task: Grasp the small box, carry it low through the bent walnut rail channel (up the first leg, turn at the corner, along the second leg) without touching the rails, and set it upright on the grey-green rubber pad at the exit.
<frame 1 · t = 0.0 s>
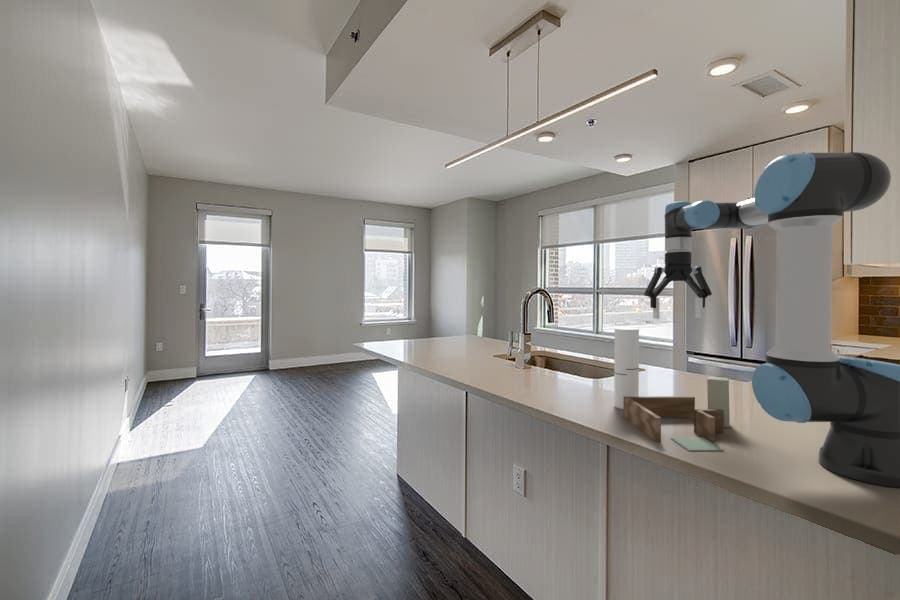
hand: (677, 318, 136), 28 cm above the table, fingers open, 13 cm apart
box: (718, 425, 117), on the table
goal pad: (696, 444, 102), on the table
rail: (676, 428, 114), on the table
cylindrical container: (626, 407, 135), on the table
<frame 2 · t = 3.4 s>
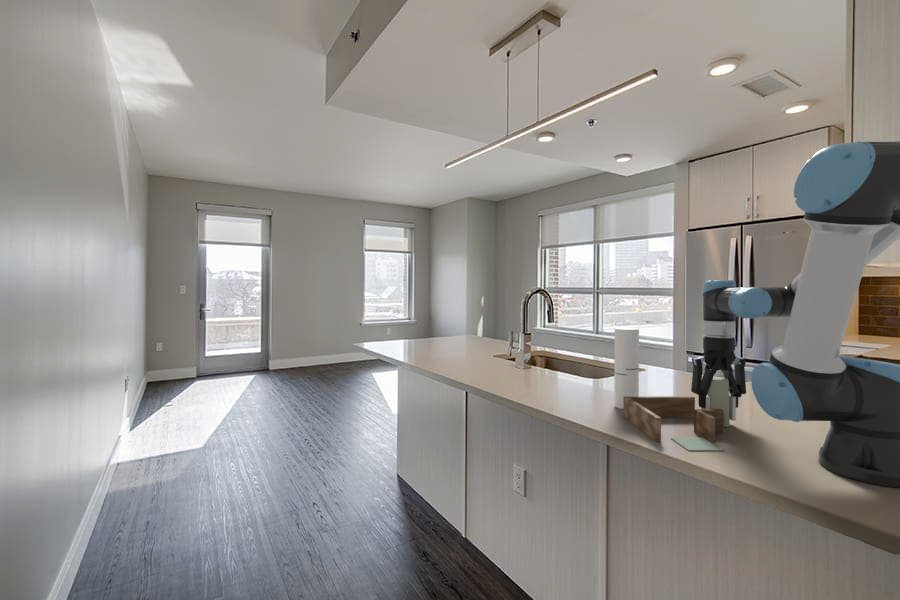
hand: (718, 419, 117), 1 cm above the table, fingers closed on box, 6 cm apart
box: (717, 425, 117), on the table, touching gripper
everything else where it was.
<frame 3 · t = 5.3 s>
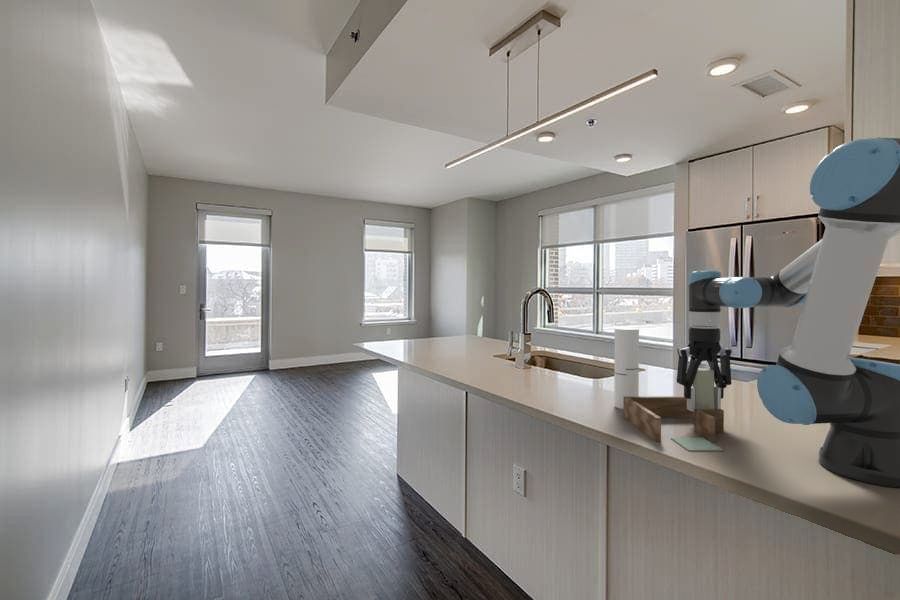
hand: (703, 409, 117), 4 cm above the table, fingers closed on box, 6 cm apart
box: (703, 416, 117), point 2 cm above the table, touching gripper
everything else where it was.
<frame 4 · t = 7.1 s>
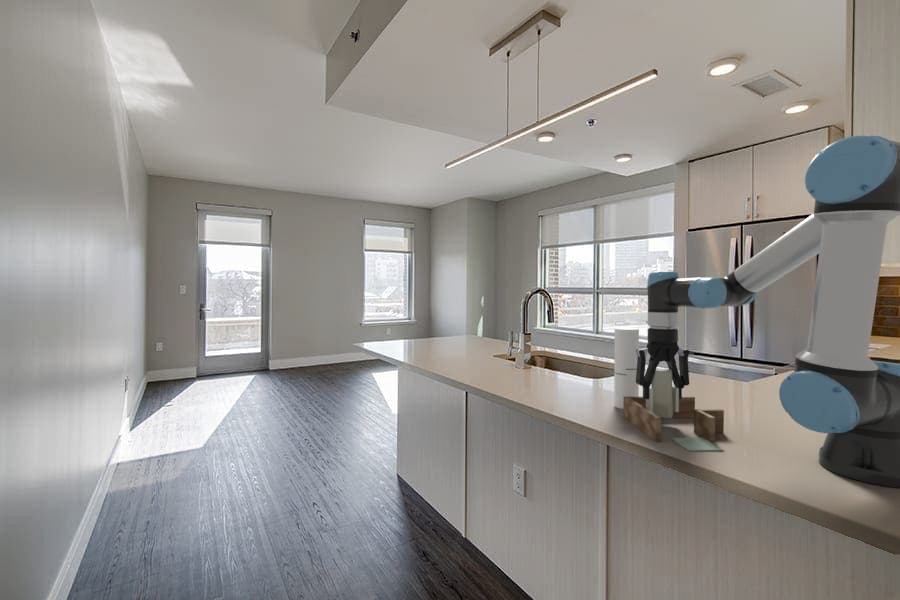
hand: (662, 410, 117), 4 cm above the table, fingers closed on box, 6 cm apart
box: (661, 416, 117), point 2 cm above the table, touching gripper
everything else where it was.
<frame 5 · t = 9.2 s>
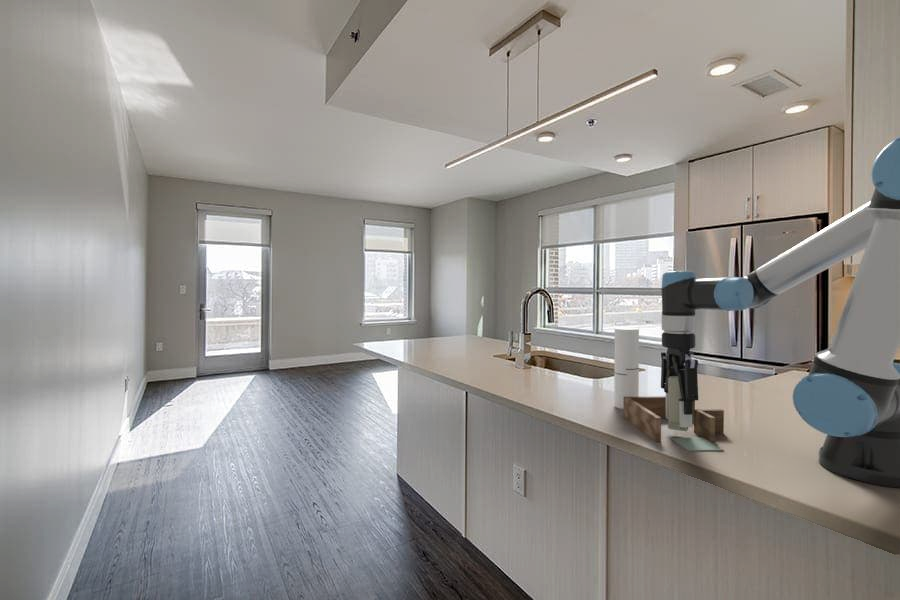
hand: (678, 422, 108), 4 cm above the table, fingers closed on box, 6 cm apart
box: (678, 428, 108), point 2 cm above the table, touching gripper
everything else where it was.
when the fingers open (3 cm above the table, at t = 11.2 s): box stays where it is, resting on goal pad.
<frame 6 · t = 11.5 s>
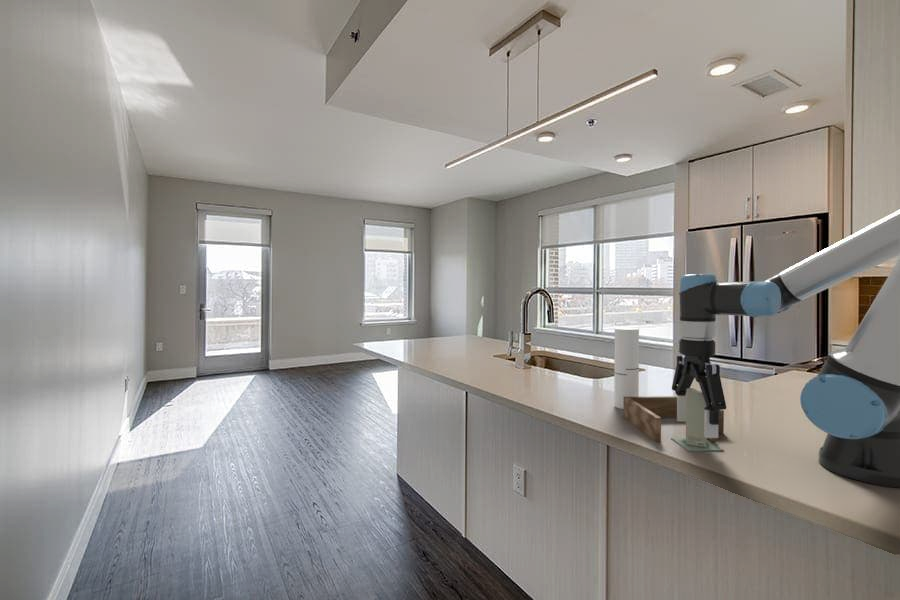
hand: (696, 428, 102), 4 cm above the table, fingers open, 11 cm apart
box: (696, 444, 103), resting on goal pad
everything else where it was.
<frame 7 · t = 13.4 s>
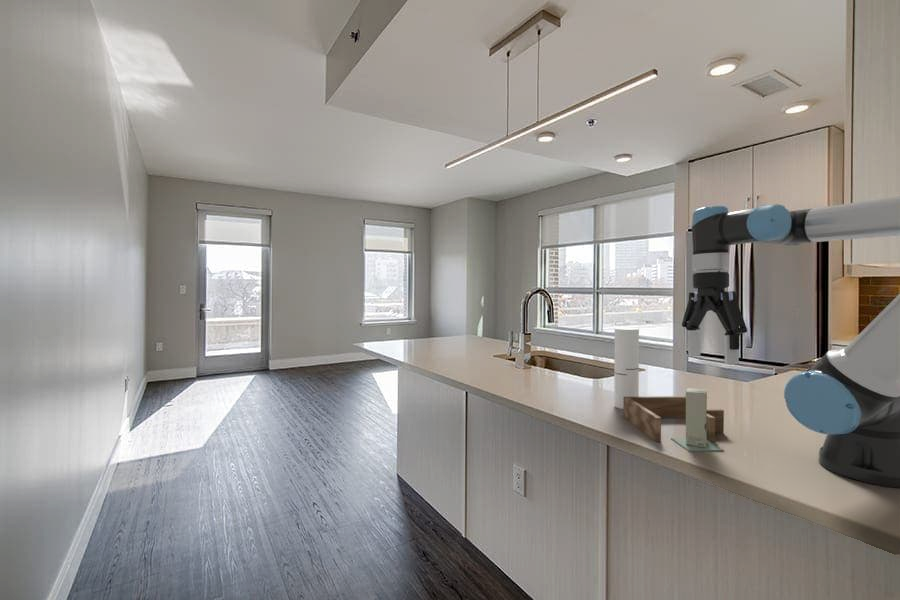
hand: (711, 359, 103), 20 cm above the table, fingers open, 13 cm apart
nothing on the table moved.
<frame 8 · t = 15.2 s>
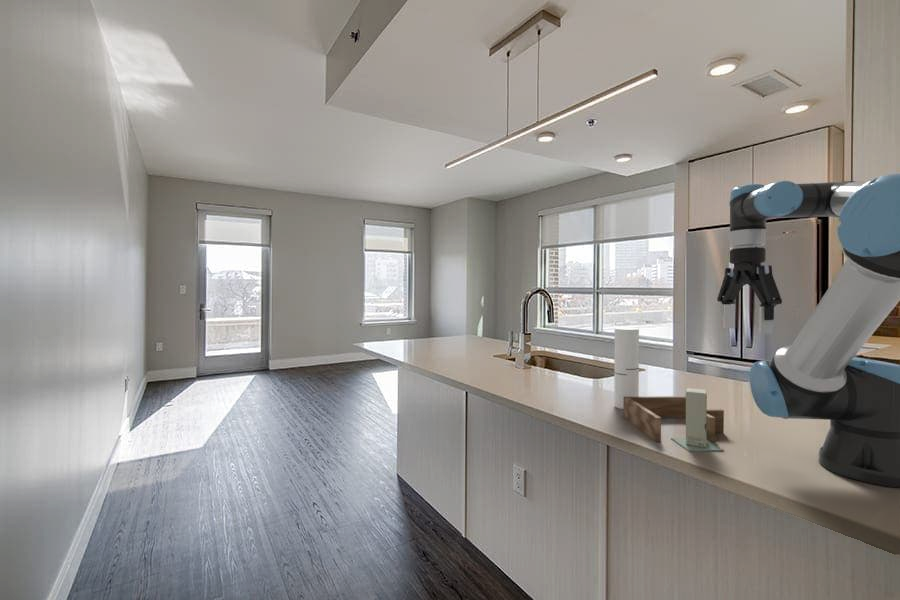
hand: (746, 331, 108), 27 cm above the table, fingers open, 13 cm apart
nothing on the table moved.
at the end: box inside the target area (0.2 cm from its centre), resting on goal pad; box tilted 0°; the gripper is holding nothing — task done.
